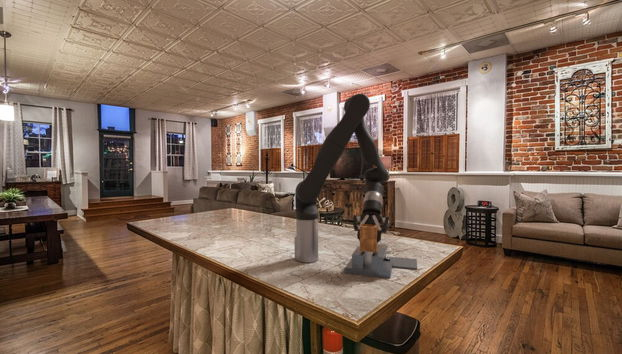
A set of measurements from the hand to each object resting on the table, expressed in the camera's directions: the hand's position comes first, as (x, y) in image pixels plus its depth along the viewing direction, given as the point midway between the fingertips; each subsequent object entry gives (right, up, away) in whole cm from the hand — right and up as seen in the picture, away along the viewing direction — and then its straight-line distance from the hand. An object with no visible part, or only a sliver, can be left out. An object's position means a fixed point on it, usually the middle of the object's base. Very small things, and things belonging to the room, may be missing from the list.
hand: (368, 240), depth 107 cm
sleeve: (+1, -4, +2) cm, 4 cm away
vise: (+1, -12, +2) cm, 12 cm away
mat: (+15, -11, +9) cm, 21 cm away
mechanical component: (+11, -11, +27) cm, 32 cm away
